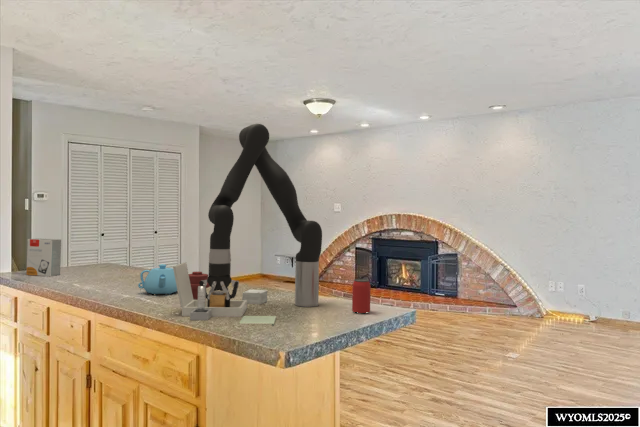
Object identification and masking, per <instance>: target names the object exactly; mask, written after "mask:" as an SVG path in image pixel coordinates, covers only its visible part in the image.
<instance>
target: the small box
mask: <svg viewBox="0 0 640 427" xmlns="http://www.w3.org/2000/svg"><path fill="white" fill-rule="evenodd" d="M241 296H242V298H241V300H247V305H248V304H250V305H262V304H264V303H268V290H267V289H248V290H246V291H243V292H242V295H241Z"/></svg>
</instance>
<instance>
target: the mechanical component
mask: <svg viewBox="0 0 640 427" xmlns="http://www.w3.org/2000/svg"><path fill="white" fill-rule="evenodd" d="M188 274H189V279H190V284H191V290H192V295H193V300H198V286H200V284H199V282H200V281H201V280H207V279H208V276H209V273H203V271H192V272H191V273H188ZM208 288H211V287H210V285H209V284H208V282H207V285H206V289H208Z"/></svg>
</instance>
